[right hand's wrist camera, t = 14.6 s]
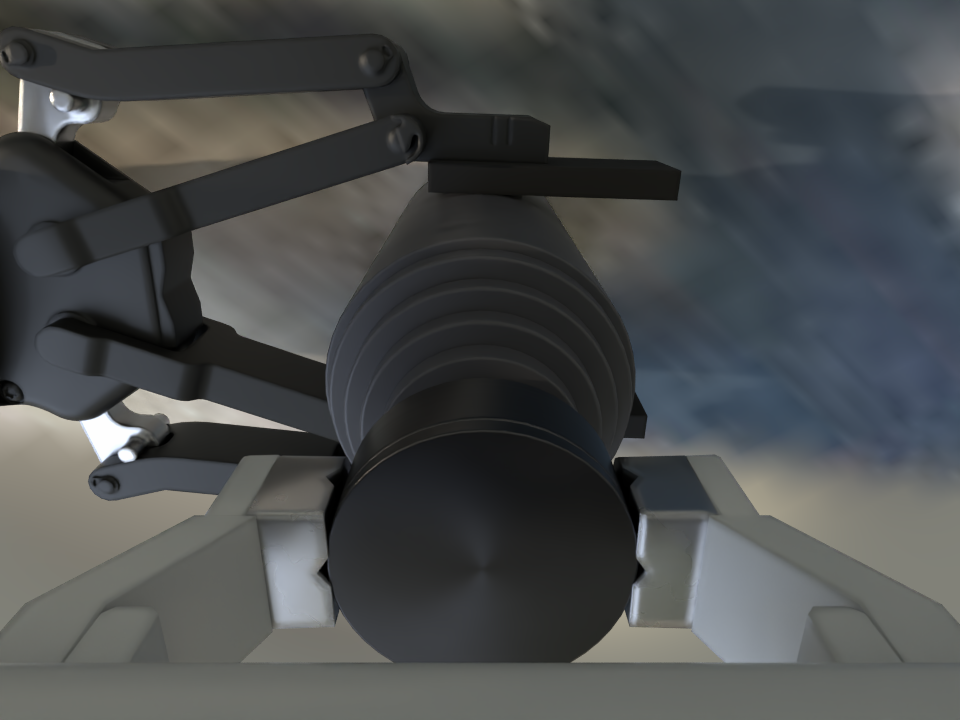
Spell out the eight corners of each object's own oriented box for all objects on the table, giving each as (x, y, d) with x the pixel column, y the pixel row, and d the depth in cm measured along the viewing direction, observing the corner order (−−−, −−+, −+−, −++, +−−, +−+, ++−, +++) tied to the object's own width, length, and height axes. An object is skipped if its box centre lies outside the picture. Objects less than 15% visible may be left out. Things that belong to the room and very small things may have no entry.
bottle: (462, 127, 24) (427, 213, 7) (595, 233, 25) (818, 506, 9) (364, 265, 26) (161, 582, 9) (493, 357, 27) (519, 773, 11)
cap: (293, 498, 10) (261, 568, 9) (483, 319, 9) (484, 364, 8) (481, 644, 11) (480, 729, 10) (670, 499, 10) (703, 569, 9)
